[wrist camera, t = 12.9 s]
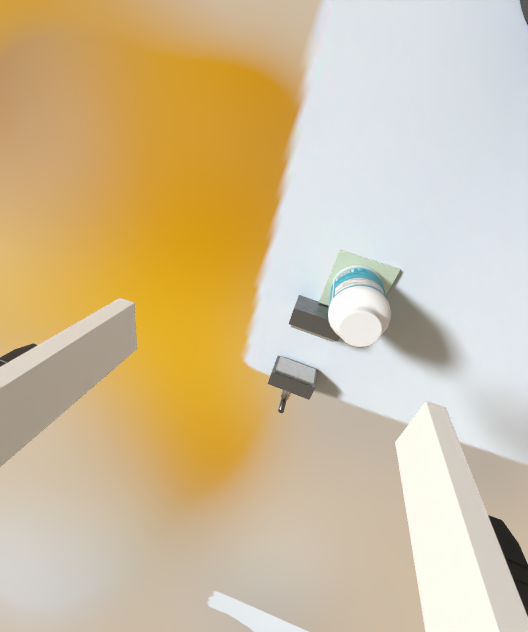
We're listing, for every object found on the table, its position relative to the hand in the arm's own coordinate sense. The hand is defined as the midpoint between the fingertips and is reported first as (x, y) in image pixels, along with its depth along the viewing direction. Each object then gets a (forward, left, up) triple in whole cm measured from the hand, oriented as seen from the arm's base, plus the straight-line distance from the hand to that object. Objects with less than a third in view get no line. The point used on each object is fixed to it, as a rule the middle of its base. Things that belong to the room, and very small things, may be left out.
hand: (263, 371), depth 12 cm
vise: (+22, +4, -34) cm, 41 cm away
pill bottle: (+7, +8, -33) cm, 34 cm away
